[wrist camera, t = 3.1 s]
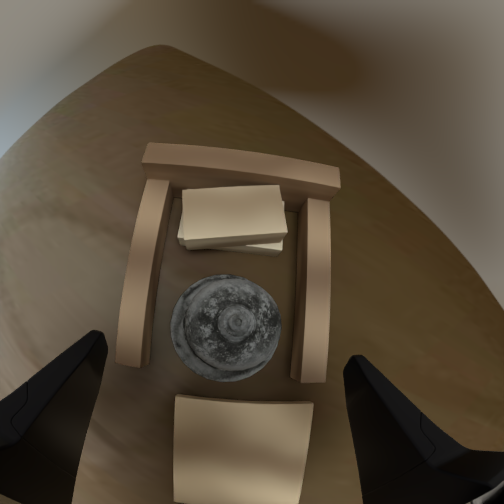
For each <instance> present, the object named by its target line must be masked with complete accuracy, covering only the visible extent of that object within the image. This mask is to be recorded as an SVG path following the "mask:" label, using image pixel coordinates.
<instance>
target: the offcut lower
mask: <svg viewBox="0 0 504 504" xmlns="http://www.w3.org/2000/svg"><path fill="white" fill-rule="evenodd" d="M187 190H190V189H187ZM282 204H283V209H284V201H282ZM178 240H179V243H180V245H183V246H186V245H185V242H184V228H183V211H182V216H181V221H180V227H179V232H178ZM282 243H283V239H282V241H281V242H280V243H271V244H258V245H246V246H233V247H221V248H208V249H216V250H224V251H232V252H241V253H249V254H257V255H265V256H274V257H277V256H278V255H279V253H280V252H281V251H282Z"/></svg>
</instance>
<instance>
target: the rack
mask: <svg viewBox="0 0 504 504" xmlns="http://www.w3.org/2000/svg"><path fill="white" fill-rule="evenodd" d="M141 163H142V166H143V168H144V171H145V174H146V177H147V182H146V186H145V189H144V193H143V197H142V200H141V204H140V208H139V212H138V216H137V220H136V225H135V229H134V234H133V238H132V243H131V248H130V253H129V258H128V263H127V269H126V274H125V280H124V286H123V293H122V300H121V307H120V315H119V323H118V333H117V343H116V355H115V363H117V364H122V365H127V366H131V367H136V368H142V367H144V366H146V365H148V364H149V361H150V349H151V338H152V328H153V319H154V310H155V302H156V295H157V287H158V281H159V274H160V268H161V261H162V255H163V250H164V244H165V238H166V233H167V228H168V223H169V218H170V213H171V208H172V203H173V199H174V197H176V198H182V190H187V189H203V188H218V187H236V186H259V185H279V188H280V193H281V198H282V201H284V210H285V211H292V212H298V242H297V273H296V296H295V315H294V331H293V346H292V359H291V371H290V378H292V379H294V380H296V381H298V382H300V383H322V382H325V381H326V370H327V357H328V341H329V322H330V291H331V239H330V207H329V201H330V200H331V199H332V198H333V197H334V195H335V194H336V193H337V192H338V190H339V189H340V188H341V186H340V175H339V168H338V167H333V166H329V165H324V164H319V163H314V162H309V161H304V160H299V159H293V158H288V157H282V156H276V155H270V154H263V153H256V152H249V151H241V150H233V149H225V148H216V147H205V146H194V145H181V144H164V143H148V145H147V147H146V150H145V153H144V156H143V159H142V162H141Z"/></svg>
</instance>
